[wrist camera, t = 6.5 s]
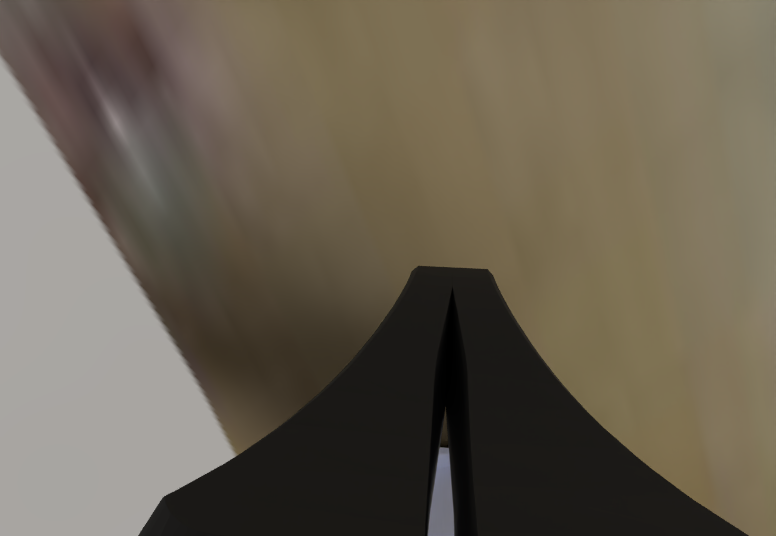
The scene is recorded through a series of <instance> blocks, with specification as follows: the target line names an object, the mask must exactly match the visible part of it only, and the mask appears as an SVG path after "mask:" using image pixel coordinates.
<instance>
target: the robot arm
mask: <svg viewBox="0 0 776 536" xmlns="http://www.w3.org/2000/svg"><path fill="white" fill-rule="evenodd" d="M445 407H446V417H447V431H448V445H449V448H441V447H440V442H441V435H442V428H443V421H444V414H445ZM138 536H748V535H747V534H745V533H744V532H742V531H741V530H739V529H738V528H736V527H734V526H733V525H731V524H730V523H728V522H727V521H725V520H724V519H722V518H721V517H719V516H717V515H716V514H714V513H713V512H711V511H710V510H708V509H707V508H705V507H704V506H702V505H701V504H699V503H697V502H696V501H694V500H693V499H692V498H690V497H689V496H687V495H686V494H684V493H683V492H682V491H680V490H679V489H678V488H676V487H675V486H674V485H672V484H671V483H670V482H668V481H667V480H666V479H664V478H663V477H662V476H660V475H659V474H658V473H656V472H655V471H654V470H652V469H651V468H650V467H649V466H647V465H646V464H645V463H644V462H642V461H641V460H640V459H639V458H638V457H636V456H635V455H634V454H633V453H632V452H631V451H629V450H628V449H627V448H626V447H625V446H624V445H623V444H621V443H620V442H619V441H618V440H617V439H616V438H615V437H613V436H612V435H611V434H610V433H609V432H608V431H607V430H606V429H604V428H603V427H602V426H601V425H600V424H599V423H598V422H597V421H596V420H595V419H594V418H593V417H592V416H591V415H590V414H589V413H588V412H587V411H586V410H585V409H584V408H583V407H582V405H581V404H580V403H579V402H578V401H577V400H576V399H575V398H574V397H573V396H572V395H571V394H570V392H569V391H568V390H567V389H566V388H565V387H564V385H563V384H562V383H561V382H560V381H559V379H558V378H557V377H556V376H555V375H554V373H553V372H552V371H551V369H550V368H549V367H548V366H547V364H546V363H545V362H544V360H543V359H542V358H541V356H540V355H539V354H538V352H537V351H536V349H535V348H534V347H533V345H532V344H531V342H530V341H529V339H528V338H527V336H526V335H525V333H524V332H523V330H522V329H521V327H520V326H519V324H518V323H517V321H516V319H515V318H514V316H513V314H512V313H511V311H510V309H509V307H508V305H507V304H506V302H505V300H504V298H503V296H502V294H501V292H500V290H499V288H498V286H497V284H496V282H495V279H494V277H493V275H492V274H491V273H490V272H489V270H488V269H472V268H451V267H430V266H418V267H417V268H415V269H414V270H413V271H412V272H411V275H410V277H409V280H408V282H407V284H406V286H405V287H404V289H403V291H402V293H401V294H400V296H399V298H398V299H397V301H396V303H395V304H394V306H393V307H392V309H391V310H390V312H389V313H388V314H387V316H386V317H385V319H384V320H383V322H382V323H381V324H380V326H379V327H378V329H377V330H376V331H375V333H374V334H373V335H372V336H371V338H370V339H369V340H368V341H367V342H366V344H365V345H364V346H363V347H362V349H361V350H360V351H359V352H358V353H357V355H356V356H355V357H354V358H353V359H352V360H351V362H350V363H349V364H348V365H347V366H346V367H345V368H344V369H343V370H342V371H341V372H340V373H339V374H338V375H337V376H336V377H335V378H334V379H333V380H332V381H331V382H330V383H329V384H328V385H327V386H326V387H325V388H324V389H323V390H322V391H321V392H320V393H319V394H318V395H317V396H315V397H314V398H313V399H312V400H311V401H310V402H309V403H307V404H306V405H305V406H304V407H303V408H302V409H300V410H299V411H298V412H297V413H296V414H295V415H293V416H292V417H291V418H290V419H288V420H287V421H286V422H285V423H283V424H282V425H281V426H279V427H278V428H277V429H275V430H274V431H273V432H271V433H270V434H268V435H267V436H265V437H264V438H263V439H261V440H260V441H258V442H257V443H255V444H254V445H252V446H251V447H250V448H248V449H247V450H245V451H244V452H242V453H241V454H239V455H238V456H236V457H235V458H233V459H231V460H230V461H228V462H226V463H225V464H223V465H222V466H220V467H218V468H216V469H214V470H212V471H211V472H209V473H207V474H205V475H203V476H201V477H200V478H198V479H196V480H194V481H192V482H191V483H189V484H187V485H185V486H183V487H182V488H180V489H178V490H176V491H174V492H172V493H170V494H168V495H166V496H164V497H163V498H162V500H161V501H160V503H159V504H158V506H157V507H156V509H155V511H154V512H153V514H152V515H151V517H150V519H149V520H148V522H147V523H146V525H145V526H144V527H143V529H142V531H141V532H140V534H139V535H138Z"/></svg>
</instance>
